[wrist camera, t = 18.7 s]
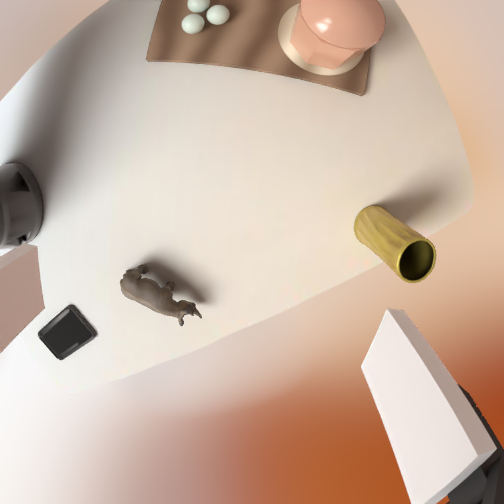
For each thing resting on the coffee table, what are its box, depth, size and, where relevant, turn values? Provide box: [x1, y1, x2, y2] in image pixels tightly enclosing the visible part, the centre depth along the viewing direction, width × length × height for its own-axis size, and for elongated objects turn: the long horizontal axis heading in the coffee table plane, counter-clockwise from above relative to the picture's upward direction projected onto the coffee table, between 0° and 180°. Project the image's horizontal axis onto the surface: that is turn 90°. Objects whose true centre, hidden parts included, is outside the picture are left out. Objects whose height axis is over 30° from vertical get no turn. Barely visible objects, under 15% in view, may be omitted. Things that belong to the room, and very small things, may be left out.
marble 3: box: [207, 5, 230, 25], centre depth 30 cm, size 3×3×3 cm
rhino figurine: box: [120, 265, 202, 326], centre depth 44 cm, size 4×14×6 cm, turn 59°
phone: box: [38, 305, 96, 360], centre depth 50 cm, size 8×1×15 cm
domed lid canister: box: [290, 0, 385, 70], centre depth 27 cm, size 9×9×10 cm
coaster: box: [278, 4, 364, 76], centre depth 32 cm, size 12×12×1 cm
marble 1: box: [187, 0, 210, 13], centre depth 29 cm, size 3×3×3 cm
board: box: [146, 0, 371, 96], centre depth 32 cm, size 30×14×1 cm, turn 80°
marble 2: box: [182, 14, 205, 34], centre depth 30 cm, size 3×3×3 cm
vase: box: [354, 206, 436, 283], centre depth 36 cm, size 6×6×14 cm
